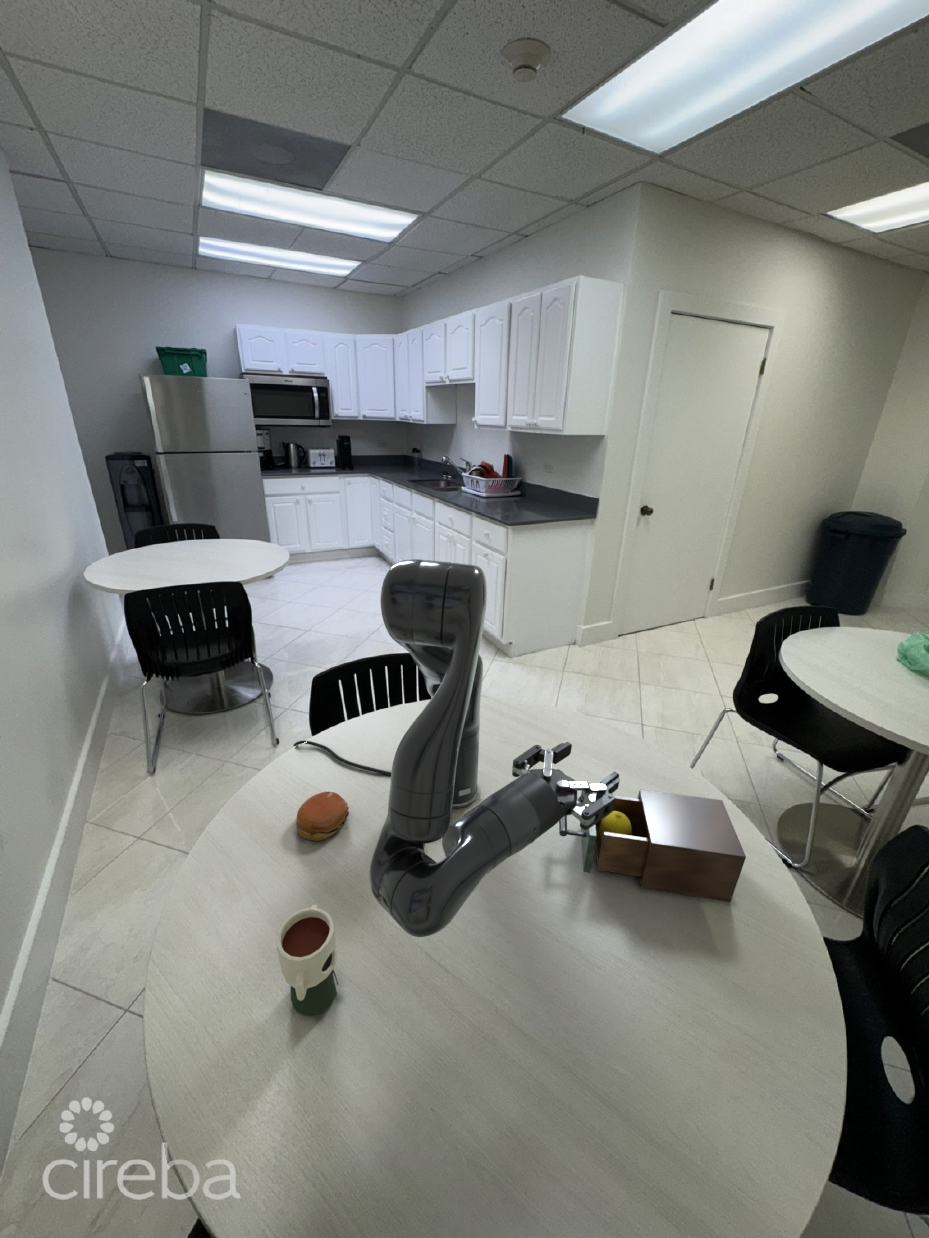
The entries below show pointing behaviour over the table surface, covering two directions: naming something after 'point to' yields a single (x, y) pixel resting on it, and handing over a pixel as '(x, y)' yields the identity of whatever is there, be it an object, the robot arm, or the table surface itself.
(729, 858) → the cabinet
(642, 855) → the drawer
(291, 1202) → the table surface
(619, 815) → the lemon
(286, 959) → the character mug
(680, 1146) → the table surface
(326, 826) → the burger
